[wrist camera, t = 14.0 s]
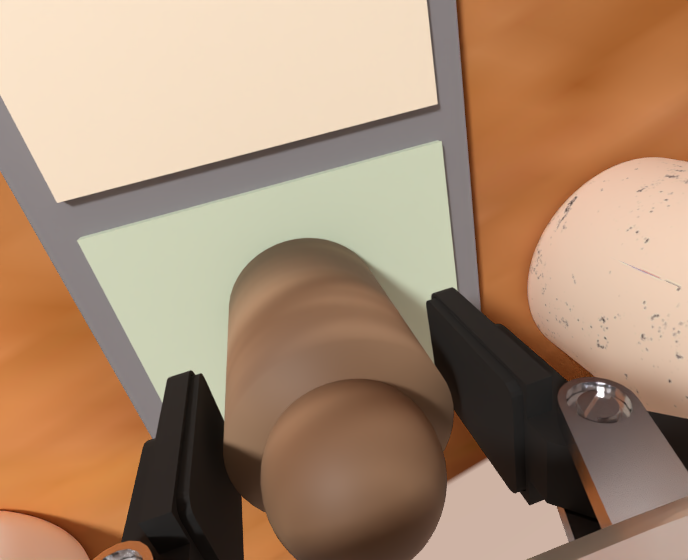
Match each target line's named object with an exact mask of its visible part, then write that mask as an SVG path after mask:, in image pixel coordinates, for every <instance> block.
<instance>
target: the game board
mask: <svg viewBox="0 0 688 560" xmlns="http://www.w3.org/2000/svg"><path fill="white" fill-rule="evenodd" d="M0 171H1V173H2V175H3V177H4V178H5V180H6V182H7V184H8V185H9V187H10V189H11V191H12V192H13V194H14V196H15V198H16V199H17V201H18V203H19V205H20V206H21V208H22V210H23V212H24V213H25V215H26V217H27V219H28V220H29V222H30V224H31V226H32V228H33V229H34V231H35V233H36V235H37V236H38V238H39V240H40V242H41V243H42V245H43V247H44V249H45V250H46V252H47V254H48V256H49V257H50V259H51V261H52V263H53V264H54V266H55V268H56V270H57V272H58V273H59V275H60V277H61V279H62V280H63V282H64V284H65V286H66V287H67V289H68V291H69V293H70V294H71V296H72V298H73V300H74V301H75V303H76V305H77V307H78V308H79V310H80V312H81V314H82V316H83V317H84V319H85V321H86V323H87V324H88V326H89V328H90V330H91V331H92V333H93V335H94V337H95V338H96V340H97V342H98V344H99V345H100V347H101V349H102V351H103V352H104V354H105V356H106V358H107V359H108V361H109V363H110V365H111V367H112V368H113V370H114V372H115V374H116V375H117V377H118V379H119V381H120V382H121V384H122V386H123V388H124V389H125V391H126V393H127V395H128V396H129V398H130V400H131V402H132V403H133V405H134V407H135V409H136V411H137V412H138V414H139V416H140V418H141V419H142V421H143V423H144V425H145V426H146V428H147V430H148V432H149V433H150V435H151V437H152V439H154V438H155V437H156V432H157V427H158V422H159V417H160V412H161V407H162V402H163V397H164V392H165V387H166V382H167V379H168V378H169V377H171V376H174V375H177V374H181V373H184V372H187V371H190V370H192V371H193V372H194V373H195V375H197V374H200V373H202V374H203V376H204V378H205V380H206V382H207V384H208V386H209V388H210V391H211V393H212V395H213V397H214V399H215V402H216V404H217V406H218V408H219V410H220V413H221V415H222V417H223V419H224V415H225V391H226V366H227V341H228V317H229V301H230V295H231V292H232V289H233V286H234V284H235V282H236V280H237V278H238V276H239V275H240V273H241V272H242V270H243V269H244V268H245V267H246V266H247V264H248V263H249V262H250V261H251V260H252V259H254V258H255V257H256V256H257V255H258V254H260V253H261V252H263V251H264V250H266V249H268V248H270V247H272V246H274V245H276V244H279V243H282V242H285V241H288V240H293V239H299V238H319V239H325V240H329V241H333V242H336V243H338V244H341V245H343V246H345V247H347V248H348V249H350V250H351V251H353V252H354V253H355V254H357V255H358V256H359V257H360V258H361V259H362V260H363V261H364V263H365V264H366V265H367V266H368V268H369V269H370V271H371V272H372V274H373V275H374V277H375V278H376V280H377V281H378V283H379V284H380V285H381V287H382V288H383V290H384V291H385V293H386V294H387V296H388V297H389V299H390V300H391V302H392V303H393V304H394V306H395V307H396V309H397V310H398V312H399V313H400V315H401V316H402V318H403V319H404V321H405V322H406V324H407V325H408V326H409V328H410V329H411V331H412V332H413V334H414V335H415V337H416V338H417V340H418V341H419V343H420V344H421V346H422V347H423V348H424V350H425V351H426V353H427V354H428V356H429V357H430V359H431V360H432V362H433V363H434V357H433V350H432V343H431V336H430V329H429V323H428V316H427V309H426V301H428V300H431V295H432V293H435V292H438V291H441V290H444V289H448V288H451V287H453V288H455V289H456V290H457V291H458V292H459V293H460V294H462V295H463V296H464V297H465V298H466V299H467V300H468V301H469V302H471V303H472V304H473V305H474V306H475V307H476V308H477V309H478V310H479V311H481V306H480V294H479V282H478V269H477V257H476V244H475V232H474V220H473V207H472V195H471V182H470V170H469V157H468V145H467V133H466V120H465V108H464V95H463V83H462V71H461V58H460V46H459V33H458V21H457V8H456V0H0ZM434 365H435V364H434Z"/></svg>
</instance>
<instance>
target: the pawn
mask: <svg viewBox="0 0 688 560" xmlns="http://www.w3.org/2000/svg"><path fill="white" fill-rule="evenodd" d="M453 418H454V408H453V401H452V396H451V392H450V390H449V388H448V385H447V383H446V381H445V380H444V378H443V377H442V375H441V373H440V372H439V370H438V369H437V368H436V366H435V365H434V363H433V362H432V360H431V359H430V357H429V356H428V354H427V353H426V351H425V350H424V348H423V347H422V346H421V344H420V343H419V341H418V340H417V338H416V337H415V335H414V334H413V332H412V331H411V329H410V328H409V326H408V325H407V324H406V322H405V321H404V319H403V318H402V316H401V315H400V313H399V312H398V310H397V309H396V307H395V306H394V304H393V303H392V302H391V300H390V299H389V297H388V296H387V294H386V293H385V291H384V290H383V288H382V287H381V285H380V284H379V283H378V281H377V280H376V278H375V277H374V275H373V274H372V272H371V271H370V269H369V268H368V266H367V265H366V264H365V263H364V261H363V260H362V259H361V258H360V257H359V256H358V255H357V254H355V253H354V252H353V251H351V250H350V249H348V248H347V247H345V246H343V245H341V244H338V243H336V242H333V241H329V240H325V239H319V238H299V239H293V240H288V241H285V242H282V243H279V244H276V245H274V246H272V247H270V248H268V249H266V250H264V251H263V252H261V253H260V254H258V255H257V256H256V257H255V258H254V259H252V260H251V261H250V262H249V263H248V264H247V266H246V267H245V268H244V269H243V270H242V272H241V273H240V275H239V276H238V278H237V280H236V282H235V284H234V286H233V289H232V292H231V295H230V301H229V317H228V341H227V366H226V391H225V415H224V440H223V457H224V463H225V468H226V471H227V473H228V476H229V479H230V480H231V482H232V484H233V485H234V487H235V489H236V490H237V491H238V492H239V493H240V494H241V495H242V497H243V498H245V499H246V500H247V501H248V502H249V503H251V504H252V505H253V506H255V507H257V508H258V509H260V510H262V511H263V512H266V514H267V517H268V520H269V522H270V524H271V526H272V528H273V530H274V532H275V534H276V536H277V537H278V539H279V540H280V541H281V543H282V544H283V546H284V547H285V548H286V549H287V550H288V551H289V553H290V554H292V555H293V556H294V557H295V558H296V559H297V560H411V559H413V558H414V557H415V556H416V555H417V554H418V553H419V552H420V551H421V550H422V549H423V547H424V546H425V545H426V543H427V542H428V540H429V539H430V537H431V536H432V534H433V532H434V531H435V529H436V526H437V524H438V522H439V519H440V517H441V514H442V510H443V507H444V502H445V497H446V488H447V473H446V463H445V458H444V454H443V451H444V450H445V448H446V445H447V443H448V440H449V438H450V434H451V431H452V427H453Z"/></svg>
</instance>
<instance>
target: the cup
mask: <svg viewBox="0 0 688 560" xmlns="http://www.w3.org/2000/svg"><path fill="white" fill-rule="evenodd" d="M0 560H89V558H88V556H87V554H86V552H85V550H84V549H83V547H82V546H81V545H80V543H79V542H78V541H77V540H76V539H75V538H74V537H73V536H72V535H70V534H69V533H68V532H66V531H65V530H63V529H62V528H60V527H58V526H56V525H54V524H52V523H50V522H48V521H45V520H43V519H40V518H37V517H33V516H30V515H26V514H21V513H16V512H9V511H0Z"/></svg>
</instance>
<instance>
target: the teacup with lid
mask: <svg viewBox="0 0 688 560" xmlns="http://www.w3.org/2000/svg"><path fill="white" fill-rule="evenodd" d="M527 289H528V303H529V307H530V311H531V314H532V316H533V319H534V321H535V323H536V325H537V327H538V328H539V330H540V331H541V332H542V333H543V335H544V336H545V337H546V338H547V339H548V340H550V341H551V342H552V343H553V344H555V345H556V346H557V347H558V348H560V349H561V350H562V351H564V352H565V353H566V354H567V355H569V356H570V357H571V358H572V359H574V360H575V361H576V362H577V363H579V364H580V365H581V366H582V367H584V368H585V369H586V370H587V371H589V372H590V373H591V374H592V375H594V376H595V377H598V378H604V379H609V380H612V381H614V382H617V383H619V384H622V385H623V386H625V387H626V388H628V389H629V390H631V391H632V392H633V393H634V394H635V395H636V396H637V397H638V398H639V400H640V401H641V403H642V404H643V406H644V407H645V409H646V410H647V411H651V412H656V413H661V414H666V415H671V416H676V417H681V418H687V419H688V162H686V161H680V160H674V159H668V158H658V157H650V158H640V159H634V160H631V161H627V162H624V163H621V164H618V165H616V166H613V167H611V168H609V169H607V170H605V171H603V172H601V173H600V174H598V175H597V176H595V177H593V178H592V179H591V180H589V181H588V182H586V183H585V184H584V185H583V186H581V187H580V188H579V189H578V190H577V191H575V192H574V193H573V194H572V195H571V196H570V197H569V198H568V199H567V200H566V201H565V202H564V204H563V205H562V206H561V207H560V208H559V209H558V211H557V212H556V213H555V215H554V216H553V217H552V219H551V220H550V222H549V223H548V225H547V227H546V228H545V230H544V232H543V234H542V236H541V237H540V240H539V242H538V244H537V246H536V249H535V252H534V254H533V257H532V261H531V265H530V270H529V275H528V286H527Z"/></svg>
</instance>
